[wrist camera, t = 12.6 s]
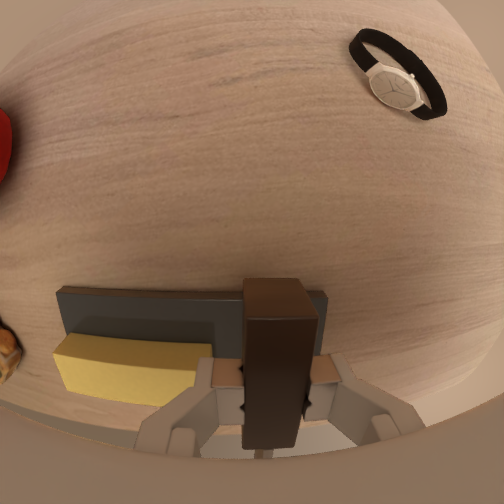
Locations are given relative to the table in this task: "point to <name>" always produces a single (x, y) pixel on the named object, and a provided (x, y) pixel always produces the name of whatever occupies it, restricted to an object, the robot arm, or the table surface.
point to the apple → (4, 143)
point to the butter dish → (166, 316)
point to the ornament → (8, 354)
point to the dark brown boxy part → (275, 361)
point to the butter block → (128, 368)
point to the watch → (398, 76)
